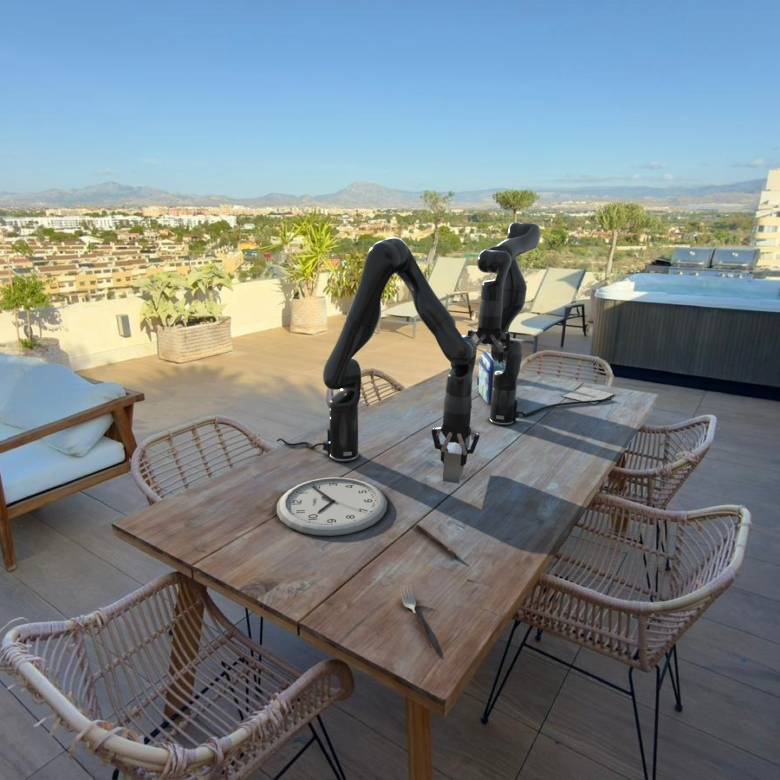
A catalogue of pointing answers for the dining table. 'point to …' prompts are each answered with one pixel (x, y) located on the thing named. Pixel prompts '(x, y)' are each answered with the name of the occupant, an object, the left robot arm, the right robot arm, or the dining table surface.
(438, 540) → the brown wooden stick
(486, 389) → the lunch box
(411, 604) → the fork
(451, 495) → the dining table surface
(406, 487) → the dining table surface
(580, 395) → the invitation card
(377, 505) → the wall clock
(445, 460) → the bar
